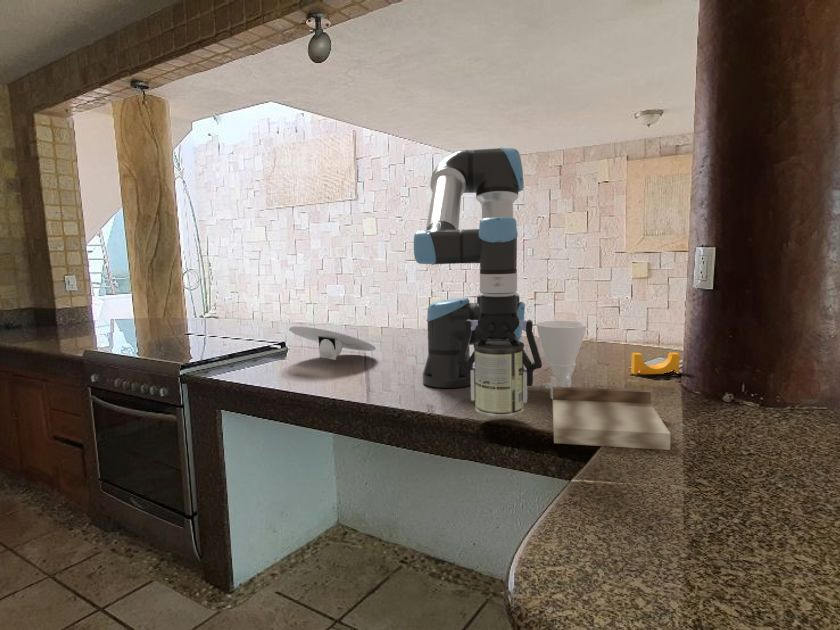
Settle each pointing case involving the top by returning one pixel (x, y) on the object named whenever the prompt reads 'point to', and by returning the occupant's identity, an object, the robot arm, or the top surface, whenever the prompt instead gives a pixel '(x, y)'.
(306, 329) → the grey cake stand
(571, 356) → the rocket engine
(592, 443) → the birch platform
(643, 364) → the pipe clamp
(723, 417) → the top surface
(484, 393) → the coffee can
